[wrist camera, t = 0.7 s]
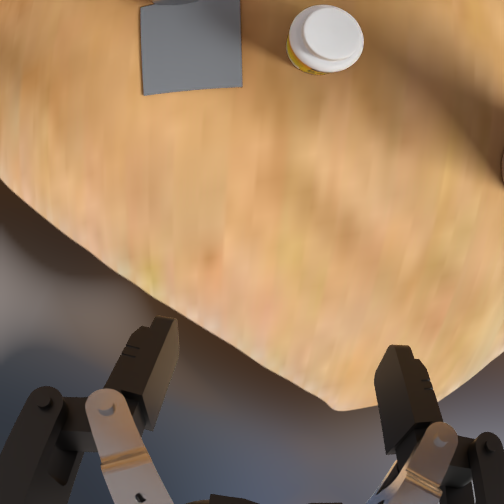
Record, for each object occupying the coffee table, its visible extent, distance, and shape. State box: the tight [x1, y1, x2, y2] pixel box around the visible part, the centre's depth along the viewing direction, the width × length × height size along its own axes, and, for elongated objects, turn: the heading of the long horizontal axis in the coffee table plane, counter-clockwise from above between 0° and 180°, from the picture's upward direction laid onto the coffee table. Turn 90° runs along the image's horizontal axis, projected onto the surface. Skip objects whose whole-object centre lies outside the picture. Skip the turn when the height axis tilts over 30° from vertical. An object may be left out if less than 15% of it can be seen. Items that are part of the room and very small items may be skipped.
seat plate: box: [141, 0, 243, 96], centre depth 26 cm, size 10×10×1 cm
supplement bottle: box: [286, 5, 364, 75], centre depth 21 cm, size 6×6×10 cm
